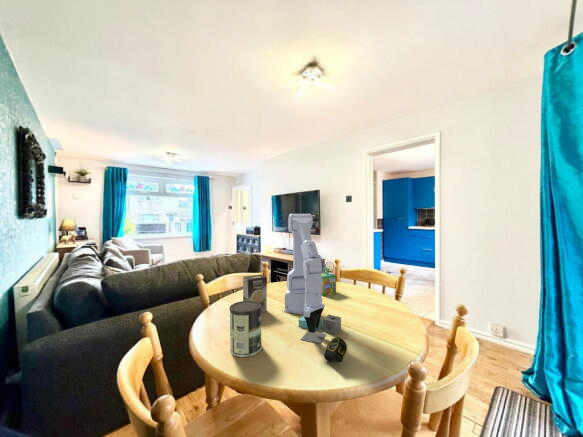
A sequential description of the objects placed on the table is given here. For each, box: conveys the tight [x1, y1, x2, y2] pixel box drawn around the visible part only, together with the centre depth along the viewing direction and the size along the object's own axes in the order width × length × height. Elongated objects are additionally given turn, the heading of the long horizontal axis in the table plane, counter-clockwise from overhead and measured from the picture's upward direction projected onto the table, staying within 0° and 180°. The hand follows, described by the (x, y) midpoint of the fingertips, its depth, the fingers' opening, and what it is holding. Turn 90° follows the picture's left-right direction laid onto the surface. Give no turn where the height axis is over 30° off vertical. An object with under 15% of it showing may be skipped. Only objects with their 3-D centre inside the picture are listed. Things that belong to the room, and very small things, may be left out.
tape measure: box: [323, 336, 348, 363], centre depth 73 cm, size 7×7×4 cm
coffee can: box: [228, 300, 263, 358], centre depth 80 cm, size 10×10×14 cm
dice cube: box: [322, 314, 342, 336], centre depth 92 cm, size 5×5×5 cm
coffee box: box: [242, 274, 268, 313], centre depth 111 cm, size 9×6×16 cm
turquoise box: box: [298, 315, 323, 332], centre depth 95 cm, size 8×4×3 cm, turn 66°
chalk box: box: [321, 266, 337, 297], centre depth 134 cm, size 9×9×15 cm
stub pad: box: [300, 330, 327, 345], centre depth 87 cm, size 7×7×1 cm
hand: (313, 329), depth 87 cm, fingers open, 3 cm apart
